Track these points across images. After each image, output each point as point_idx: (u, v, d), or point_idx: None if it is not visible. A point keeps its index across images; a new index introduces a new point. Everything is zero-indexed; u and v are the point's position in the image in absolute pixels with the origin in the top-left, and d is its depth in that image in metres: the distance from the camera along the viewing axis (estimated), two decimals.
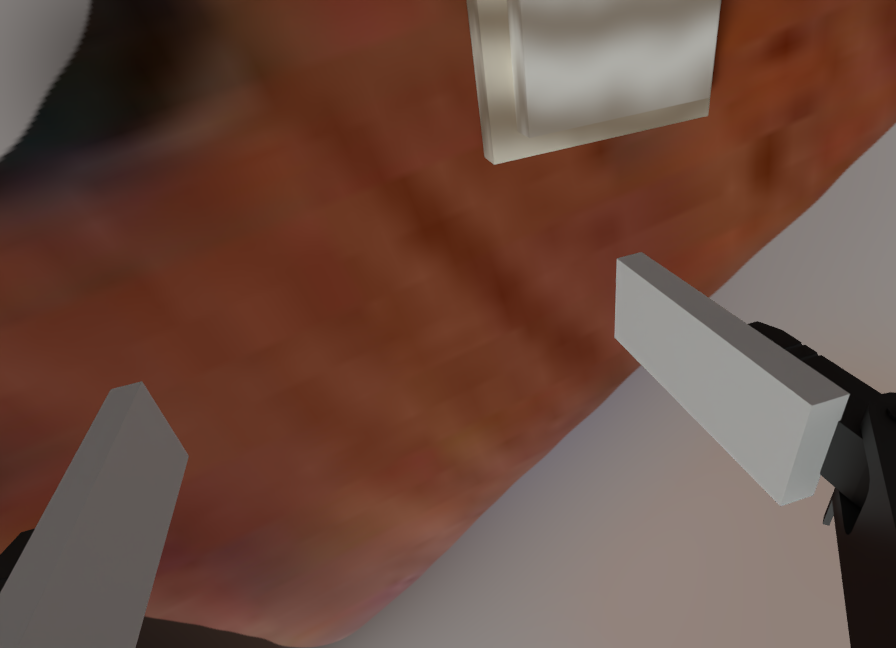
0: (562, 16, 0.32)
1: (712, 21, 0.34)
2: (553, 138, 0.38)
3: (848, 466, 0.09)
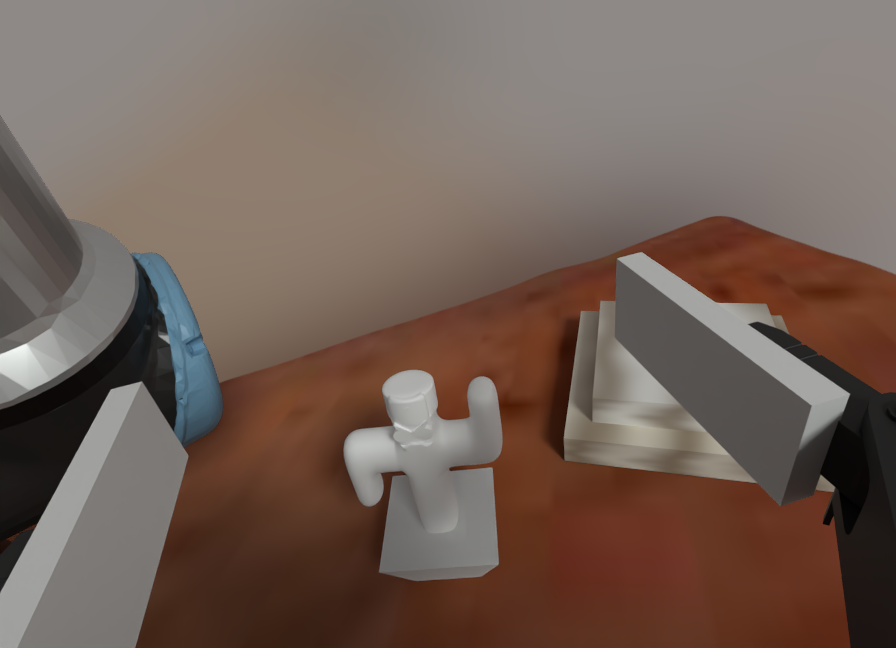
0: None
1: None
2: None
3: (848, 466, 0.09)
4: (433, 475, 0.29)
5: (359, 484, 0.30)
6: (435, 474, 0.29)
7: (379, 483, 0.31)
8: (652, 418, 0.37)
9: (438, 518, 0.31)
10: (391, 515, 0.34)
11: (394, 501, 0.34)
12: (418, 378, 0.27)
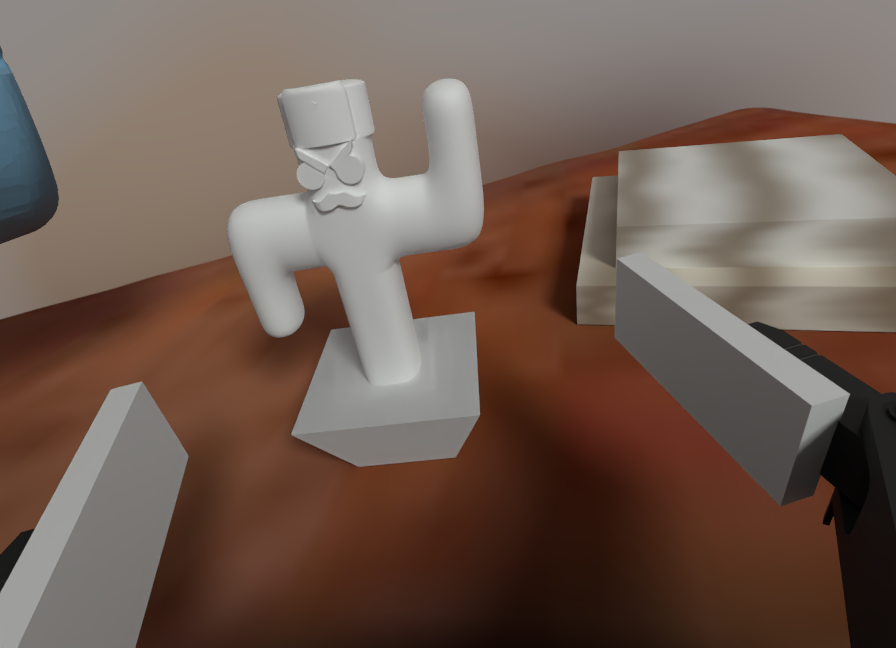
0: (757, 201, 0.27)
1: (758, 142, 0.35)
2: None
3: (848, 466, 0.09)
4: (371, 266, 0.18)
5: (256, 289, 0.18)
6: (375, 264, 0.18)
7: (294, 300, 0.20)
8: (702, 251, 0.26)
9: (387, 355, 0.20)
10: (322, 369, 0.22)
11: (329, 355, 0.23)
12: None
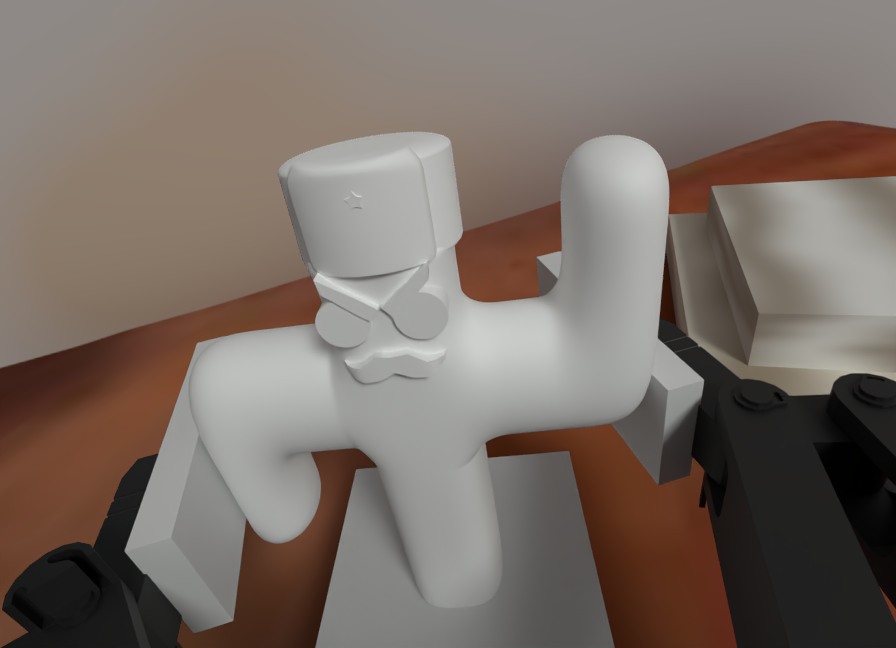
0: None
1: None
2: None
3: (710, 452, 0.10)
4: (445, 460, 0.10)
5: (240, 486, 0.11)
6: (453, 459, 0.10)
7: (305, 483, 0.12)
8: (886, 352, 0.18)
9: (457, 574, 0.12)
10: (345, 558, 0.14)
11: (355, 524, 0.15)
12: (400, 136, 0.08)
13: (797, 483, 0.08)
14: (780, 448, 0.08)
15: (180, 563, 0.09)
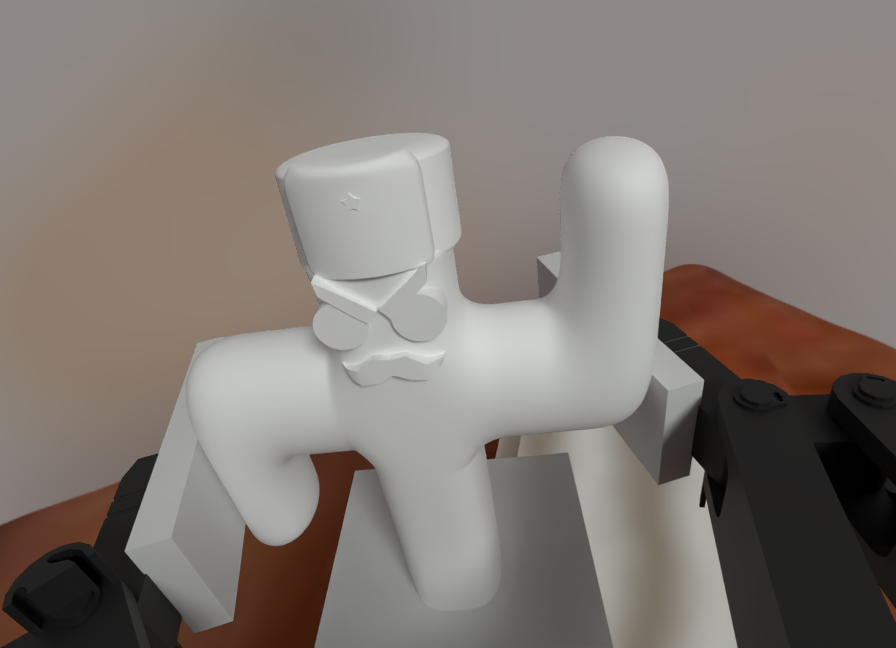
0: (642, 596, 0.24)
1: None
2: None
3: (710, 452, 0.10)
4: (444, 463, 0.10)
5: (238, 489, 0.11)
6: (452, 461, 0.10)
7: (303, 485, 0.12)
8: None
9: (456, 577, 0.12)
10: (344, 560, 0.14)
11: (354, 526, 0.15)
12: (398, 138, 0.08)
13: (797, 483, 0.08)
14: (779, 447, 0.08)
15: (180, 563, 0.09)
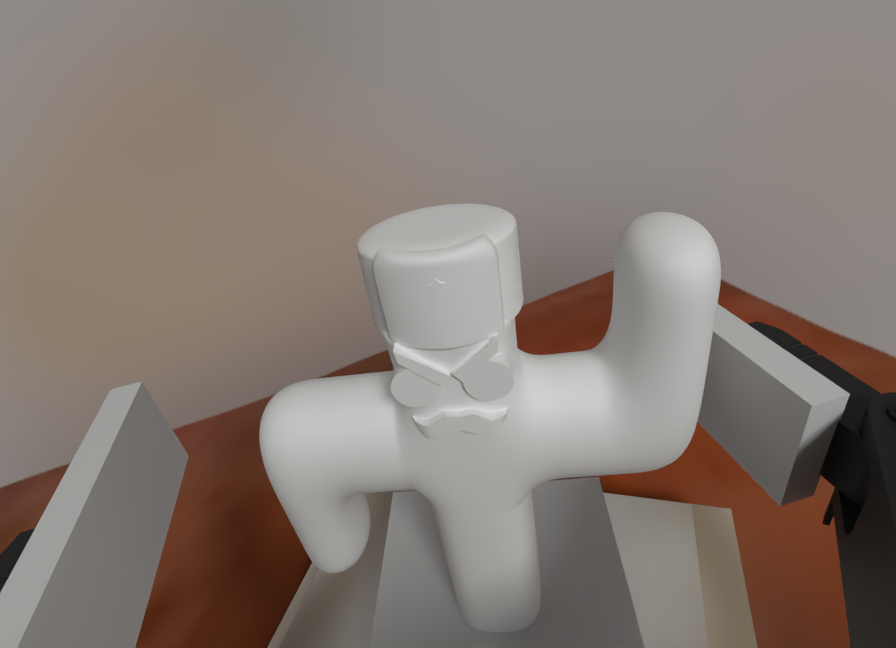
0: None
1: None
2: None
3: (848, 466, 0.09)
4: (500, 503, 0.11)
5: (304, 524, 0.11)
6: (506, 502, 0.11)
7: (359, 517, 0.13)
8: None
9: (502, 603, 0.13)
10: (389, 582, 0.15)
11: (396, 548, 0.16)
12: (468, 213, 0.09)
13: None
14: None
15: None
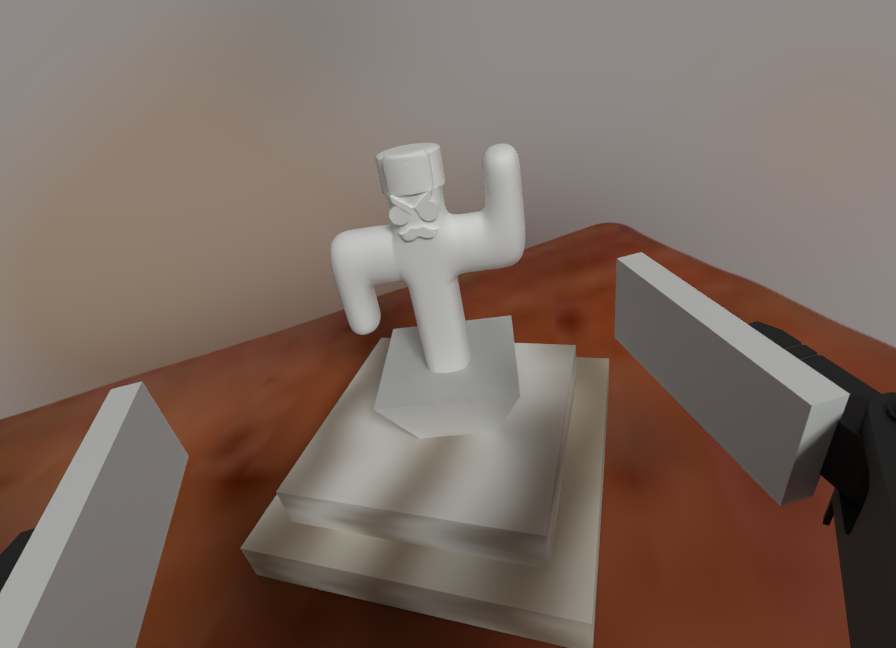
0: (418, 468, 0.26)
1: None
2: (578, 519, 0.25)
3: (848, 466, 0.09)
4: (439, 281, 0.23)
5: (349, 298, 0.24)
6: (442, 280, 0.23)
7: (375, 305, 0.26)
8: (356, 523, 0.26)
9: (446, 349, 0.26)
10: (390, 361, 0.28)
11: (394, 349, 0.29)
12: (420, 144, 0.22)
13: None
14: None
15: None
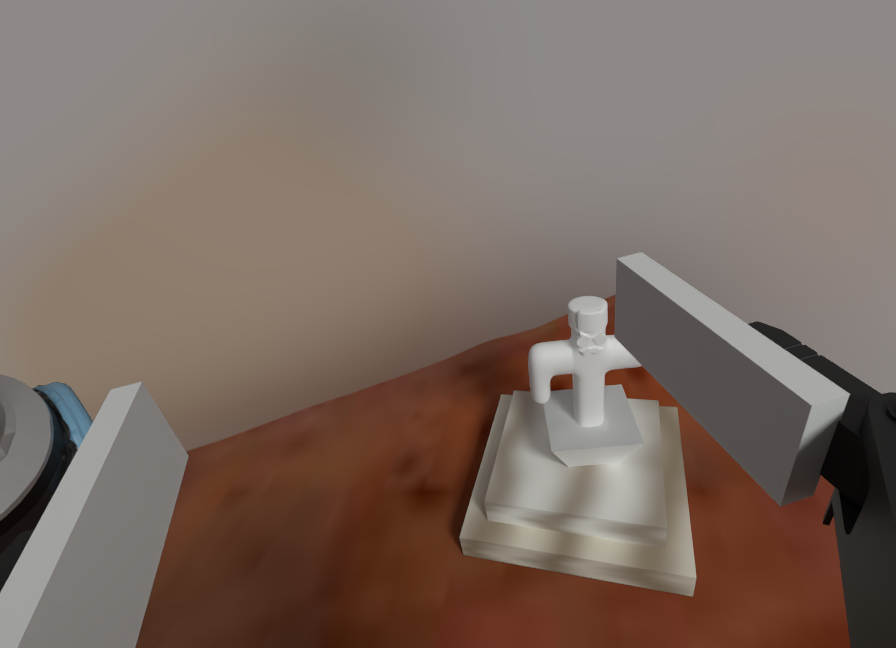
0: (574, 486, 0.42)
1: None
2: (676, 518, 0.41)
3: (848, 466, 0.09)
4: (598, 375, 0.39)
5: (540, 384, 0.40)
6: (599, 375, 0.39)
7: None
8: (537, 521, 0.41)
9: (593, 413, 0.41)
10: (549, 416, 0.44)
11: (548, 408, 0.45)
12: (594, 300, 0.37)
13: None
14: None
15: None
